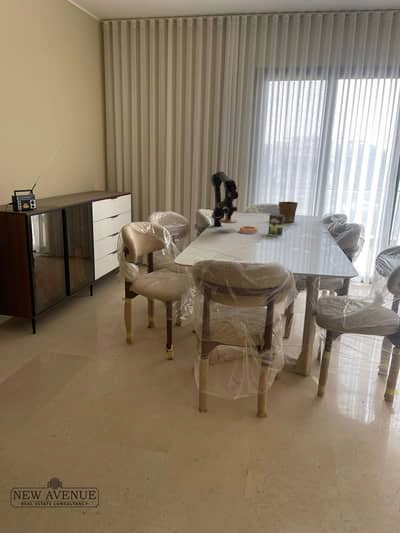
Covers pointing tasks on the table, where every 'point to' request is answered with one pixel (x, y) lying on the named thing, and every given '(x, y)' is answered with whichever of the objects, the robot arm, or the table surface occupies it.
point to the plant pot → (288, 211)
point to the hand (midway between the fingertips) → (227, 219)
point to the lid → (227, 220)
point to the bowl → (248, 229)
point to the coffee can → (276, 224)
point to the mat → (227, 230)
